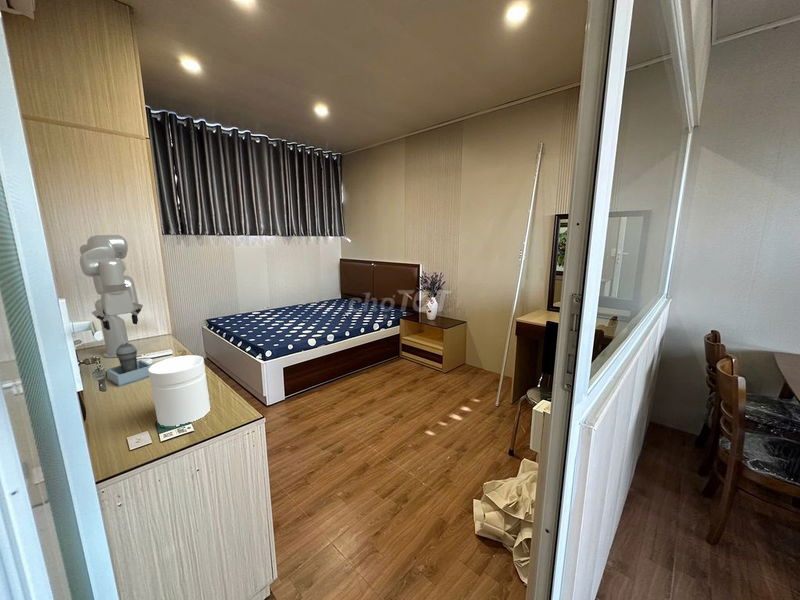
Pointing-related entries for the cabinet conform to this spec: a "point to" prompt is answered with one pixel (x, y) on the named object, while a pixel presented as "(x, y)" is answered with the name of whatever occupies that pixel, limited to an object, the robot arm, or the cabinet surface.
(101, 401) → the cabinet surface
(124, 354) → the beverage cup
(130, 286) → the robot arm
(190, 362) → the canister
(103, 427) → the cabinet surface
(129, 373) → the bin
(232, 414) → the cabinet surface
